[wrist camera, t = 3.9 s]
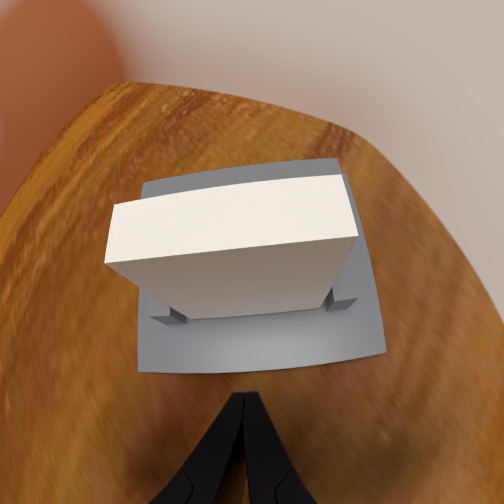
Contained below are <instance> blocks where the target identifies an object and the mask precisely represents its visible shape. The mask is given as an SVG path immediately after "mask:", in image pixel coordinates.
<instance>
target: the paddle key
mask: <svg viewBox="0 0 504 504" xmlns="http://www.w3.org/2000/svg"><path fill="white" fill-rule="evenodd" d="M358 236H359V235H358V231H357V228H356V224H355V220H354V216H353V213H352V209H351V205H350V202H349V198H348V195H347V192H346V188H345V185H344V182H343V178H342V175H325V176H312V177H299V178H288V179H278V180H268V181H259V182H250V183H242V184H234V185H227V186H219V187H212V188H205V189H199V190H192V191H186V192H180V193H174V194H168V195H162V196H157V197H151V198H146V199H141V200H136V201H131V202H126V203H121V204H116V205H114V210H113V214H112V220H111V225H110V230H109V236H108V242H107V248H106V255H105V262H104V263H105V264H106V265H108V266H109V267H111V268H112V269H113V270H115V271H116V272H118V273H119V274H121V275H122V276H123V277H125V278H126V279H128V280H129V281H131V282H132V283H134V284H135V285H137V286H138V287H140V288H141V289H143V290H144V291H146V292H148V293H149V294H151V295H152V296H154V297H155V298H157V299H158V300H160V301H162V302H163V303H165V304H166V305H168V306H170V307H171V308H173V309H175V310H176V311H178V312H179V313H181V314H183V315H184V316H186V317H188V318H190V319H205V318H221V317H235V316H247V315H259V314H269V313H279V312H289V311H298V310H306V309H315V308H320V307H321V305H322V303H323V301H324V300H325V298H326V296H327V294H328V293H329V291H330V289H331V287H332V285H333V284H334V282H335V280H336V278H337V276H338V275H339V273H340V271H341V269H342V267H343V265H344V263H345V261H346V259H347V258H348V256H349V254H350V252H351V250H352V248H353V246H354V244H355V242H356V240H357V238H358Z"/></svg>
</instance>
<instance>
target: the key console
mask: <svg viewBox="0 0 504 504" xmlns="http://www.w3.org/2000/svg"><path fill="white" fill-rule="evenodd" d="M325 175H342V178H343V182H344V185H345V188H346V192H347V195H348V198H349V202H350V205H351V209H352V213H353V216H354V220H355V224H356V228H357V231H358V235H359V236H358V238H357V240H356V242H355V244H354V246H353V248H352V250H351V252H350V254H349V256H348V258H347V259H346V261H345V263H344V265H343V267H342V269H341V271H340V273H339V275H338V276H337V278H336V280H335V282H334V284H333V285H332V287H331V289H330V291H329V293H328V294H327V296H326V298H325V300H324V301H323V303H322V305H321V307H320V308H315V309H306V310H298V311H289V312H279V313H269V314H259V315H247V316H235V317H221V318H205V319H190V318H188V317H186V316H184V315H183V314H181V313H179V312H178V311H176V310H175V309H173V308H171V307H170V306H168V305H166V304H165V303H163V302H162V301H160V300H158V299H157V298H155V297H154V296H152V295H151V294H149V293H148V292H146V291H144V290H143V289H141V288H139V307H138V371H140V372H160V373H227V372H247V371H262V370H274V369H285V368H294V367H303V366H311V365H318V364H326V363H332V362H339V361H345V360H350V359H356V358H361V357H367V356H372V355H377V354H381V353H386V344H385V337H384V330H383V323H382V317H381V311H380V306H379V300H378V295H377V290H376V285H375V280H374V275H373V270H372V266H371V261H370V257H369V253H368V248H367V244H366V240H365V236H364V233H363V229H362V225H361V221H360V218H359V214H358V211H357V207H356V204H355V200H354V197H353V194H352V190H351V187H350V184H349V181H348V178H347V175H346V173H342V172H341V169H340V166H339V163H338V160H337V158H326V159H311V160H297V161H286V162H275V163H266V164H257V165H248V166H240V167H233V168H225V169H218V170H212V171H205V172H199V173H193V174H187V175H181V176H176V177H170V178H165V179H160V180H155V181H150V182H145V183H143V188H142V193H141V199H146V198H151V197H157V196H162V195H168V194H174V193H180V192H186V191H192V190H199V189H205V188H212V187H219V186H227V185H234V184H242V183H250V182H259V181H268V180H278V179H288V178H299V177H312V176H325ZM141 199H140V200H141Z"/></svg>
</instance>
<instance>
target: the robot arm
mask: <svg viewBox="0 0 504 504" xmlns="http://www.w3.org/2000/svg"><path fill="white" fill-rule="evenodd" d="M182 466H183V467H181V468H180V469H179V470H178V472H177V473H176V474H175V476H174V477H173V478H172V479H171V481H170V482H169V483H168V484H167V485H166V486H165V487H164V488H163V490H162V491H161V492H160V493H159V494H158V495H157V496H156V497H155V498H154V499H152V500H151V501H150V502H149V503H148V504H242V501H243V494H244V487H245V480H246V473H247V478H248V488H249V497H250V504H317V503H316V501H315V500H314V499H313V497H312V496H311V495H310V493H309V492H308V490H307V489H306V487H305V486H304V484H303V482H302V480H301V479H300V477H299V475H298V473H297V471H296V469H295V468H294V466H293V464H292V462H291V460H290V458H289V456H288V454H287V452H286V450H285V447H284V445H283V443H282V441H281V439H280V437H279V435H278V433H277V431H276V429H275V427H274V425H273V423H272V420H271V418H270V416H269V414H268V412H267V410H266V408H265V405H264V403H263V401H262V399H261V397H260V394H259V392H258V391H247V392H246V393H245V392H233V393H232V394H231V396H230V397H229V399H228V400H227V402H226V403H225V405H224V406H223V408H222V409H221V411H220V412H219V414H218V415H217V417H216V418H215V420H214V421H213V423H212V424H211V426H210V427H209V428H208V430H207V431H206V433H205V434H204V436H203V437H202V439H201V440H200V441H199V443H198V444H197V446H196V447H195V448H194V450H193V451H192V453H191V454H190V455H189V457H188V458H187V460H186V461H185V462H184V464H183V465H182Z"/></svg>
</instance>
